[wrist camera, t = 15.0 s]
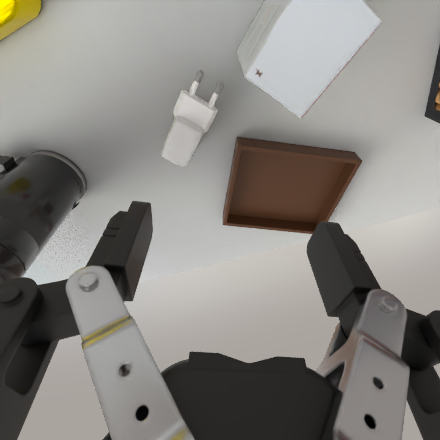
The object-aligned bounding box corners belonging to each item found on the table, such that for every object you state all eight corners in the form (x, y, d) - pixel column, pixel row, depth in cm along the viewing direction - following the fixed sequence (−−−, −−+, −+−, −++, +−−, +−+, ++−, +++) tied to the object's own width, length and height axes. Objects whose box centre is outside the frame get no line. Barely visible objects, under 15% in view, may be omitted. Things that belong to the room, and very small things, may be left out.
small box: (275, 84, 31) (300, 121, 21) (234, 52, 29) (241, 77, 19) (325, 14, 26) (385, 21, 17) (281, -31, 24) (321, -54, 14)
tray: (222, 215, 46) (222, 225, 44) (236, 136, 36) (237, 145, 33) (315, 224, 47) (320, 234, 45) (354, 152, 37) (362, 161, 35)
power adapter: (194, 59, 29) (189, 69, 25) (229, 81, 31) (230, 94, 26) (162, 138, 36) (154, 156, 31) (192, 152, 37) (188, 172, 33)
